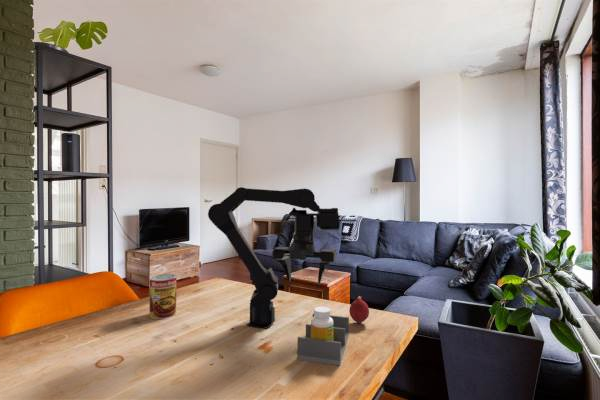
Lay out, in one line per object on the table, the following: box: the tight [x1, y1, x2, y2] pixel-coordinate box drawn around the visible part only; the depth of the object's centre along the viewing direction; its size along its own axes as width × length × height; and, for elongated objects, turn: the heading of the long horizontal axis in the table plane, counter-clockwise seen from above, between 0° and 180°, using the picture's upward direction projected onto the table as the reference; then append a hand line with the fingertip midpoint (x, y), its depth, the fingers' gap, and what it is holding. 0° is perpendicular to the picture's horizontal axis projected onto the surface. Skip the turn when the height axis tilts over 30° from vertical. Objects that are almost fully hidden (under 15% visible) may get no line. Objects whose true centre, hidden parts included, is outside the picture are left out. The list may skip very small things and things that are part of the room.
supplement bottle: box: [310, 306, 333, 341], centre depth 75 cm, size 5×5×10 cm
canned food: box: [148, 273, 177, 320], centre depth 100 cm, size 8×8×12 cm
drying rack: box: [296, 313, 350, 366], centre depth 79 cm, size 10×16×5 cm, turn 164°
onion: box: [348, 296, 370, 325], centre depth 94 cm, size 6×6×8 cm
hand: (304, 282), depth 94 cm, fingers open, 9 cm apart
